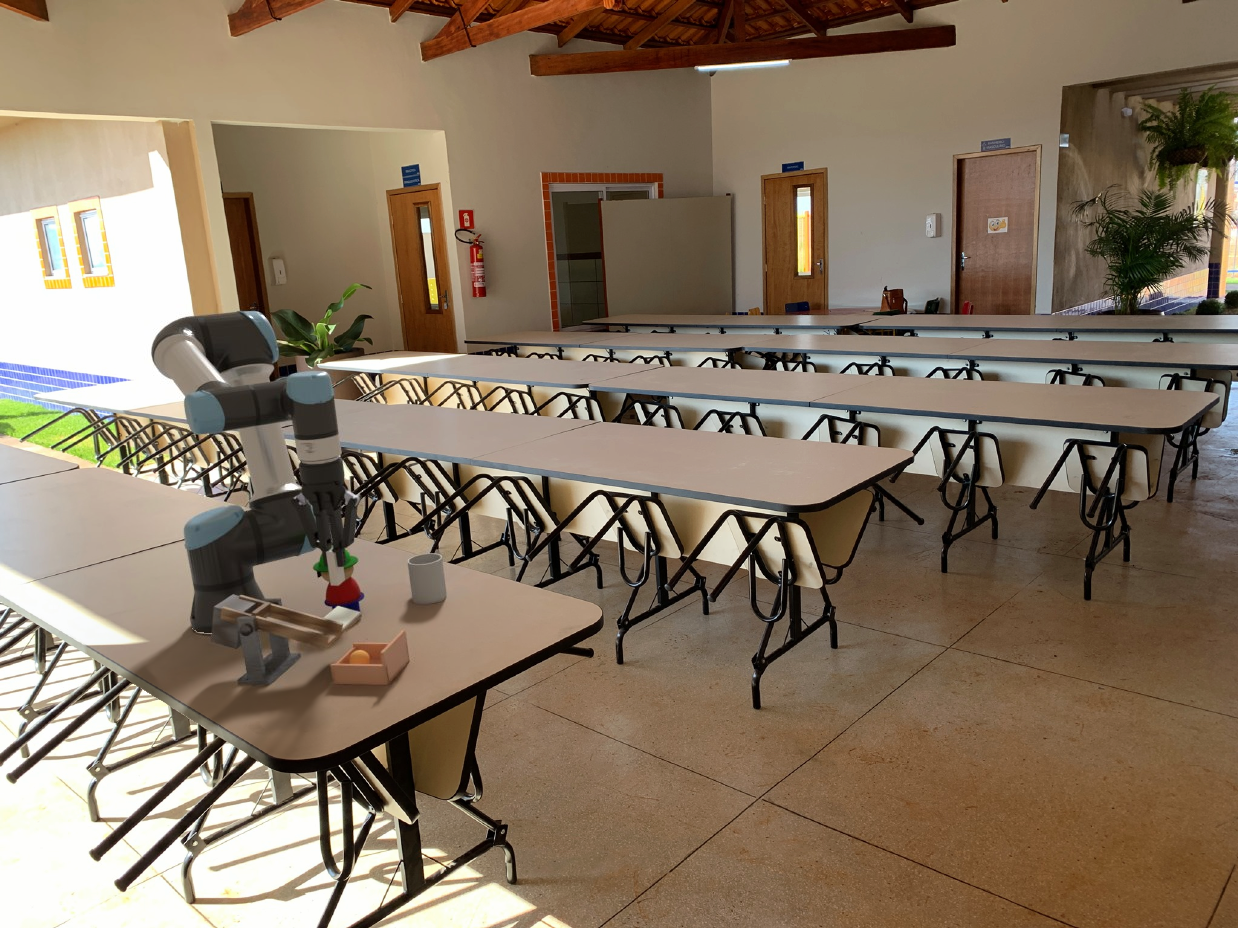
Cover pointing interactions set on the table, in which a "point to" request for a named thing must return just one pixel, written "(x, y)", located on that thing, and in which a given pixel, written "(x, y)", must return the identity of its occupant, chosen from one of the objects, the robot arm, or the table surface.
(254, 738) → the table surface
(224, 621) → the lever
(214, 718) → the table surface
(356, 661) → the ball
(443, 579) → the cup
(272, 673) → the bracket
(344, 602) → the toy
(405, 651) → the pink open box
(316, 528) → the robot arm
